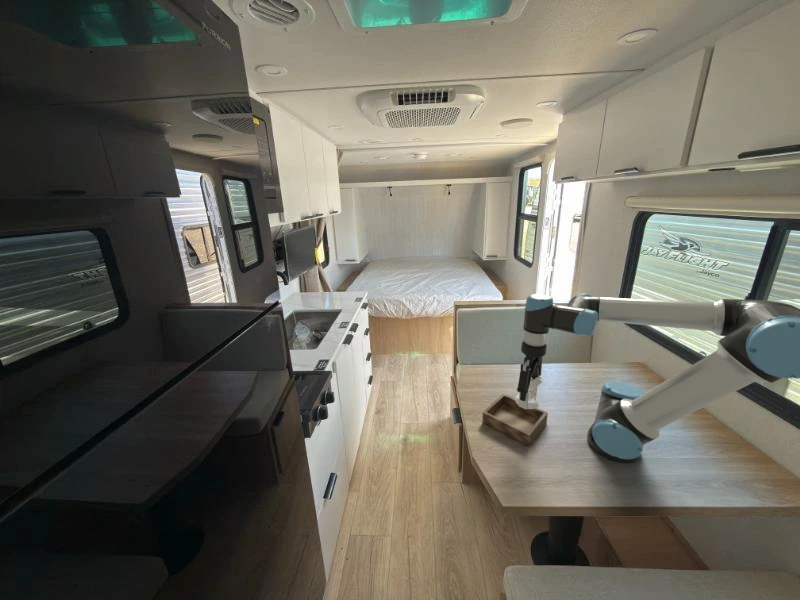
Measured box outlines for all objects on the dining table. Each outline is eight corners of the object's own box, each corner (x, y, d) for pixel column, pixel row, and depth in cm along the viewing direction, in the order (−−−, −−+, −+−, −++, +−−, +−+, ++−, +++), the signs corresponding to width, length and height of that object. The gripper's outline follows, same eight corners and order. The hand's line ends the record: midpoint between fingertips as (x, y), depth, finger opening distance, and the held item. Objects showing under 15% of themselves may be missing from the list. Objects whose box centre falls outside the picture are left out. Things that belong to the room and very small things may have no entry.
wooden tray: (546, 423, 116) (547, 412, 115) (528, 447, 106) (529, 435, 104) (502, 403, 129) (503, 393, 127) (482, 423, 118) (482, 412, 117)
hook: (559, 395, 101) (546, 388, 98) (533, 417, 105) (520, 411, 102) (547, 378, 107) (534, 371, 104) (522, 400, 111) (510, 394, 108)
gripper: (534, 328, 108) (527, 384, 115) (509, 349, 94) (504, 411, 101) (556, 334, 103) (548, 391, 110) (534, 357, 89) (526, 421, 96)
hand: (527, 401), depth 106 cm, fingers closed on hook, 8 cm apart
